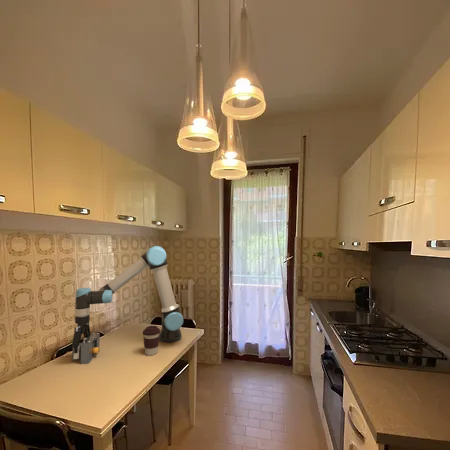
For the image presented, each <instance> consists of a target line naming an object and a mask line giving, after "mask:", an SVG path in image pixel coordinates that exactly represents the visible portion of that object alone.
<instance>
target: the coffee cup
mask: <svg viewBox="0 0 450 450" xmlns="http://www.w3.org/2000/svg"><path fill="white" fill-rule="evenodd" d="M160 332H161V329H160V328H159V327H158V326H157V325H149V326H146V327H145V328H144V329H143V330H142V335H143V347H144V354H145V355H146V356H148V357H151V356H154V355H157V354H158V352H159V351H158V350H159V341H160V340H159V335H160Z"/></svg>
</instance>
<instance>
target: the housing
mask: <svg viewBox="0 0 450 450" xmlns="http://www.w3.org/2000/svg"><path fill="white" fill-rule="evenodd" d="M92 342H94V347H99V348H100V332H97V333H95V332H93V333H91V335H90V336H89V337H88V338H87V339H86V340H85V341H84V340H83V341H82V342H80V343H81V360H80V365H88V364H90V363H91V361H92V359H93V358H92ZM98 354H99V353H96V354H94V356H97V355H98Z"/></svg>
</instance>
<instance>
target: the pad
mask: <svg viewBox="0 0 450 450" xmlns="http://www.w3.org/2000/svg"><path fill="white" fill-rule="evenodd" d="M71 352H72V351H67V352H66V353H65V354H64V355H63V356H68V357H72V353H71Z"/></svg>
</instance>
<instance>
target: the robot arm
mask: <svg viewBox="0 0 450 450" xmlns="http://www.w3.org/2000/svg"><path fill="white" fill-rule="evenodd" d="M168 265H169V263H168V259H167V252H166V250H165V248H163V247H162V246H159V245H154V246H150V247H149V248H148V249H147V251H145V252H144V253H143V254H142V255H141V256H140V258H139V259H138V260H136V261H135V262H134V263H133V264H131V265H130V266H129V267H127V268H125V270H123V271H122V272H121V273H120V274H118V275H117V276H115V277H114V278H113V279H112V280H111V281H109V282H108V283H106V284H104V285H103V286H102V287H101V288H99V289H98V290H91V288H90V287H79V288H78V289H75V297H74V299H75V304H74V305H75V307H74V308H75V309H74V313H75V314H74V315H75V317H74V323H75V324H77V326H76V327H74V329H73V330H74V332H73V337H72V342H71V348H72V347H74V357H73V359H79V349H80V346H79V343H81V338H82V337H83V341H85V340H86V339H87V338H88V337H89V336H90V335H92V333H91V327H90V319H91V318H90V316H91V315H90V314H91V305H97V304H99V305H100V304H110V303H112V301H113V295H114V294H115V293H116V292H118V290H120V289H121V288H122V287H124V286H126V284H127V283H129V282H130V281H132V280H133V279H134V278H135V277H137V276H138V275H139V274H141V273H142V272H144V271H145V270H146V269H147V268H148V269H149V270H150V271H152V272H153V276H154V280H155V284H156V288H157V292H158V296H159V298H160V302H161V311H160V312H161V329H160V333H159V341H160V342H162V343H174V342H178V341H180V340H181V339H182V335H183V334H182V331H181V329H180V328H181V327H182V326H183V324H184V316H183V314H182V311H181V308H180V304H178V303H176V299H175V295H174V291H173V288H172V283H171V280H170V276H169V273H168V272H169V271H168V268H167V267H168ZM82 335H83V336H82ZM75 344H76V345H75Z"/></svg>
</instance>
